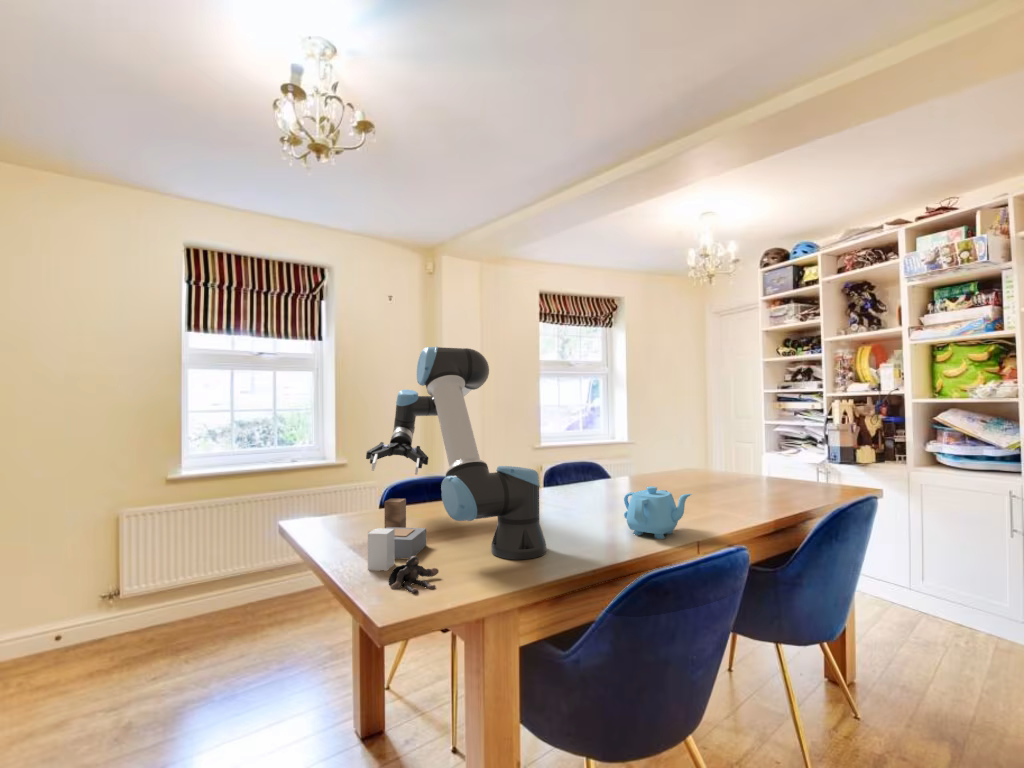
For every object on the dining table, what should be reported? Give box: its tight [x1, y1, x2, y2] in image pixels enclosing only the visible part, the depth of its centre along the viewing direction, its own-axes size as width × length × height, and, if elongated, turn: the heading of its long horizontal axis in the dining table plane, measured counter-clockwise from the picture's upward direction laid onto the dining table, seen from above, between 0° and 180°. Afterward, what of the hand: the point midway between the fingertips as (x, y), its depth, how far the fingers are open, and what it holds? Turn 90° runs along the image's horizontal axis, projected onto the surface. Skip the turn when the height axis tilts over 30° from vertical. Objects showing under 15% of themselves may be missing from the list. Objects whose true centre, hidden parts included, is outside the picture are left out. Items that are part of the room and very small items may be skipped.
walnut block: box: [384, 498, 407, 529], centre depth 155 cm, size 5×5×11 cm
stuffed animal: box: [388, 555, 440, 594], centre depth 115 cm, size 12×10×12 cm
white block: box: [367, 527, 396, 572], centre depth 125 cm, size 5×5×9 cm
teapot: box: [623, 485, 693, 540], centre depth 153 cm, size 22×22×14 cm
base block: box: [384, 527, 427, 559], centre depth 138 cm, size 12×12×5 cm
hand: (395, 468), depth 157 cm, fingers open, 13 cm apart
